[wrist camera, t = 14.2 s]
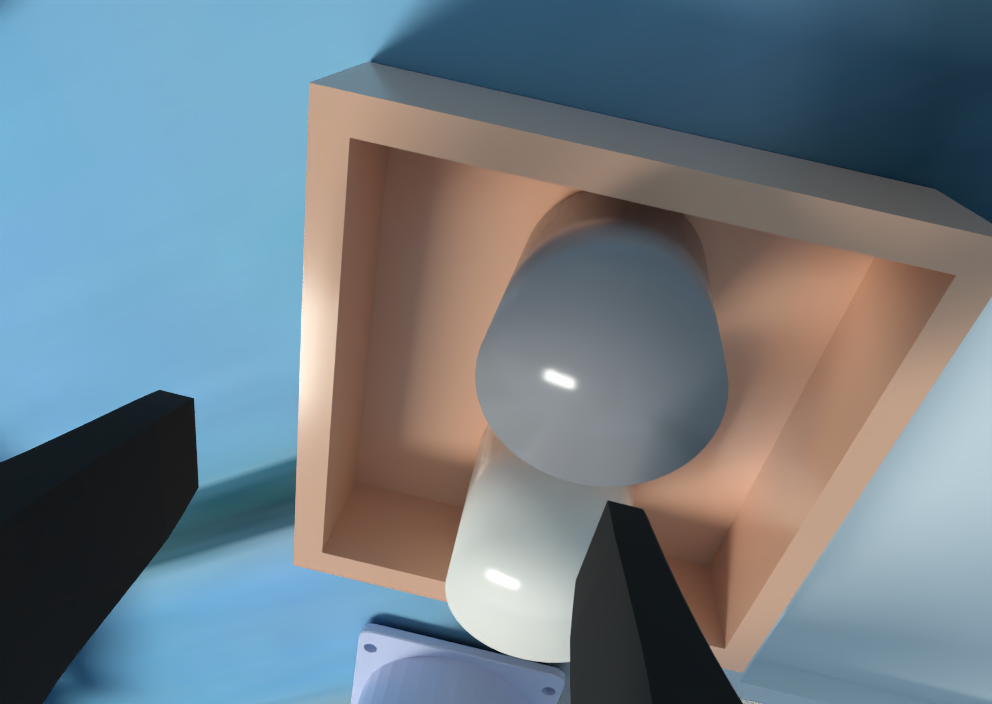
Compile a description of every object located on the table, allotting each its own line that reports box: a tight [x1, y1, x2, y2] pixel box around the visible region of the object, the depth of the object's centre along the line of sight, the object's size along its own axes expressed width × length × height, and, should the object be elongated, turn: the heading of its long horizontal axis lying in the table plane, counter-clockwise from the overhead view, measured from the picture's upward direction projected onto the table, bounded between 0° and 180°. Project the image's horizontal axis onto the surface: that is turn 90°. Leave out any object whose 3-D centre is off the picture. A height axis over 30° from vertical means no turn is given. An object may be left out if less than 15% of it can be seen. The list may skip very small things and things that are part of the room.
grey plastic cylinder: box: [475, 191, 729, 487], centre depth 13 cm, size 4×4×5 cm
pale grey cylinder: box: [445, 424, 634, 663], centre depth 17 cm, size 4×4×5 cm
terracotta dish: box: [294, 61, 992, 673], centre depth 16 cm, size 13×13×4 cm
